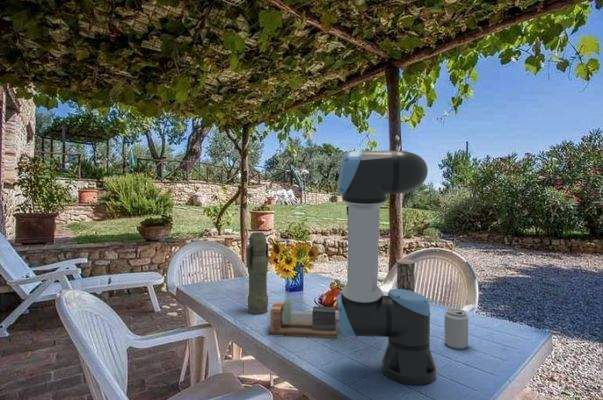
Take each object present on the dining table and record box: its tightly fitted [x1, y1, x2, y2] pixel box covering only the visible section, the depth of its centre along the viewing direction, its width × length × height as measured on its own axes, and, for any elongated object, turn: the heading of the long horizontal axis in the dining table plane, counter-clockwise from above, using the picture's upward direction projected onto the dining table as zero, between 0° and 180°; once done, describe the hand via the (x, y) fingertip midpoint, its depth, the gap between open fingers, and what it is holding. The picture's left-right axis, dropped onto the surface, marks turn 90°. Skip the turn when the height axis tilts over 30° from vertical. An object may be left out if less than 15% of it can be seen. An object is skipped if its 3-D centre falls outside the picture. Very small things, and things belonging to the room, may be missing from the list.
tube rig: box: [268, 301, 338, 339], centre depth 134 cm, size 12×25×9 cm, turn 84°
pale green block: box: [281, 299, 313, 324], centre depth 135 cm, size 4×16×8 cm, turn 84°
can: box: [444, 308, 469, 350], centre depth 121 cm, size 8×8×12 cm
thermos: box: [245, 232, 270, 316], centre depth 156 cm, size 9×12×35 cm
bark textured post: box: [396, 258, 416, 292], centre depth 143 cm, size 7×7×25 cm
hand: (351, 244), depth 144 cm, fingers open, 13 cm apart
